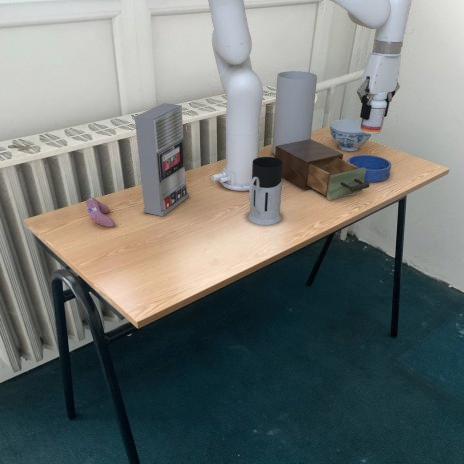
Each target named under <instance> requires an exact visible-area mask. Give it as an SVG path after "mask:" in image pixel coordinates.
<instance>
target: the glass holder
mask: <svg viewBox="0 0 464 464" xmlns="http://www.w3.org/2000/svg"><path fill="white" fill-rule="evenodd" d="M282 167H283V162H282V161H281V160H280V159H278V158H275V156H274V157H273V156H260V157H259V156H258V158H256V159H254V160H253V163H252V179H251V183H250V190H248V191H249V204H250V205H249V207H250V209H249V214H248V215H247V218H248V220H249V221H250V222H251V223H253V224H256V225H261V226H271V225H272V226H273V225H276V224H277V223H280V222H281V221H282V216H281V203H282V190H283V178H282Z"/></svg>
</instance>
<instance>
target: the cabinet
mask: <svg viewBox="0 0 464 464" xmlns="http://www.w3.org/2000/svg"><path fill="white" fill-rule="evenodd" d="M274 158H278V159H280V160H281V161H282V162H283V167H282V179H283V180H285V181H287V182H289V183H290V184H292V185H294V186H296V187H297V188H299V189H301V190H302V191H307V190H311V189H313V188H311V187H309V186H308V185H307V178H308V168H309V164H312V163H316V162H320V161H325V160H329V159H334V158H340V159H342V160H344V153H343V152H340V151H338V150H336V149H334V148H332V147H329V146H328V145H325V144H323V143H320V142H319V141H316V140H314V139H312V138H311V139H308V140H303V141H298V142H293V143H288V144H283V145H278V146H276V149H275V155H274Z"/></svg>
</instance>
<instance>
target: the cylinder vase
mask: <svg viewBox="0 0 464 464" xmlns="http://www.w3.org/2000/svg"><path fill="white" fill-rule="evenodd" d="M317 83H318V75H317V74H316V73H314V72H309V71H301V70H287V71H281V72H278V73H277V74H276V89H275V91H276V92H275V105H274V106H275V107H274V122H273V136H272V137H273V139H272V153H273V155H274V156H275V149H276V146H278V145H283V144H288V143H293V142H298V141H303V140H308V139H312V131H313V130H312V128H313V120H314V111H315V102H316V92H317Z"/></svg>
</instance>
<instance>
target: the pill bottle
mask: <svg viewBox="0 0 464 464" xmlns="http://www.w3.org/2000/svg"><path fill="white" fill-rule="evenodd" d="M369 92H370V91H369ZM387 93H388V92H385V93H379V94H376V95H374V97H373V100H372V102H371V104H370V105H372V107H371V112H370V118H369V120H366V119H363V118H361V121H362V122H361V128H360V130H361V131H362V132H363V133H366V134H372V135H379V134H381V132H382V129H383V125H384V120H385V117H384V116H385V111H386V107H387V102H386V101H385V99H386V98H387ZM369 96H370V95H368V97H367V98H369Z"/></svg>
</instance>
